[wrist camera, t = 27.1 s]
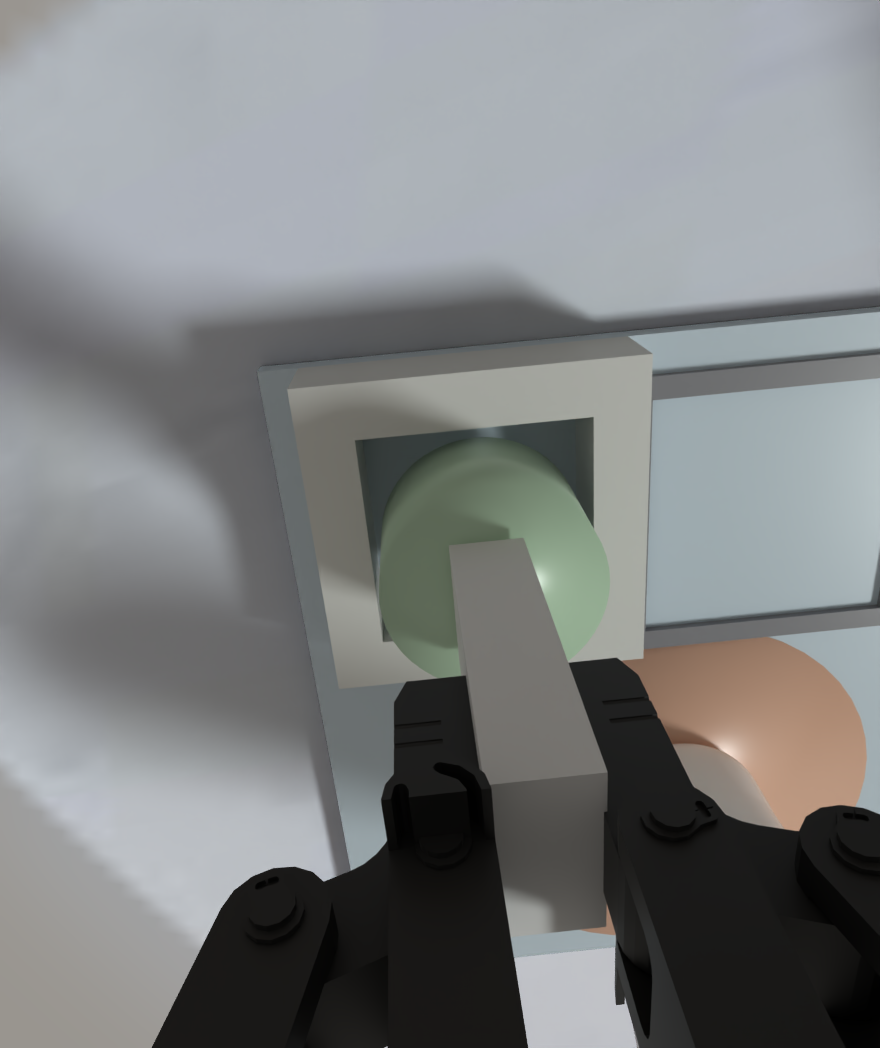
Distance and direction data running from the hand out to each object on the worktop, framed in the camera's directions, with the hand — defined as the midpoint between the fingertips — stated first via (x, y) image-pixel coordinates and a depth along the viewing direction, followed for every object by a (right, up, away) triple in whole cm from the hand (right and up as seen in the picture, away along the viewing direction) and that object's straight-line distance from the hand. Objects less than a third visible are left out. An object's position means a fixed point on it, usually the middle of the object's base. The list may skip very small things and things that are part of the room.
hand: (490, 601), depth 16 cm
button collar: (0, +2, +5) cm, 5 cm away
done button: (0, +1, +3) cm, 3 cm away
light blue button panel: (+4, -4, +8) cm, 10 cm away
